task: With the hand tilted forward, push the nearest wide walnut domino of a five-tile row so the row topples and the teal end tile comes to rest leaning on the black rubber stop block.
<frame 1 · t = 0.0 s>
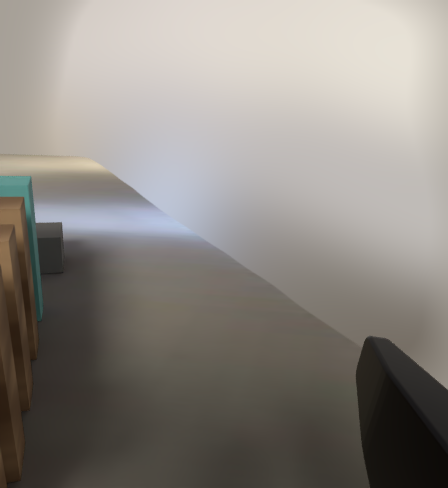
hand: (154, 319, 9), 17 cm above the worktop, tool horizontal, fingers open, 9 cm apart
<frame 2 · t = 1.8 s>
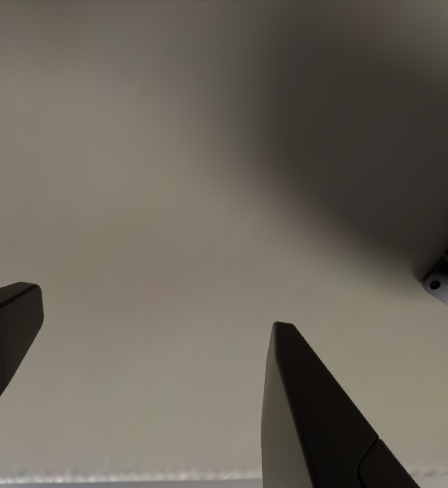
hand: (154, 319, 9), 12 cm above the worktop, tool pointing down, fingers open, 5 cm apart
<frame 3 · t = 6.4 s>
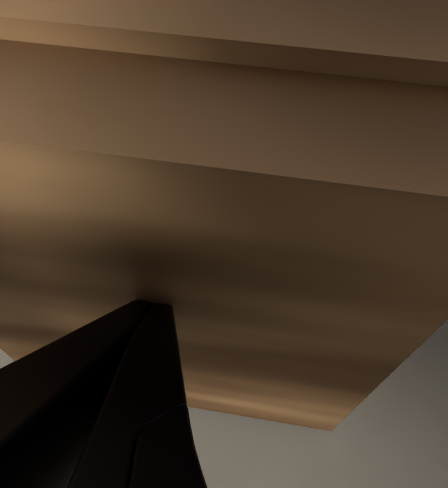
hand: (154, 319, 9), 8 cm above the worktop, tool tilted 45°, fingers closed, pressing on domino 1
domino 2: (209, 255, 18), on the worktop
domino 1: (186, 372, 16), on the worktop, tilted 14°, touching gripper
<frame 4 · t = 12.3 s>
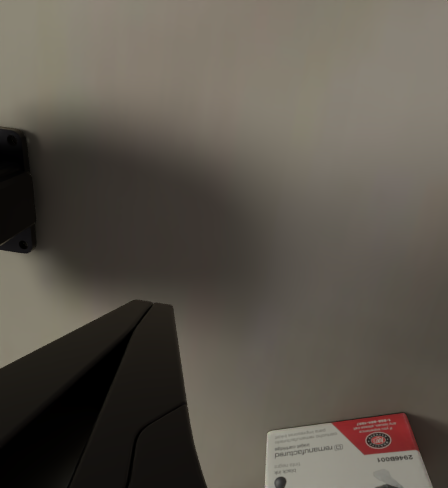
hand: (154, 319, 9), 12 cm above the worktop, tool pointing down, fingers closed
ink box: (340, 445, 26), on the worktop
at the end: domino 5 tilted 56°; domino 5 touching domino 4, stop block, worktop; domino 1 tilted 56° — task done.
